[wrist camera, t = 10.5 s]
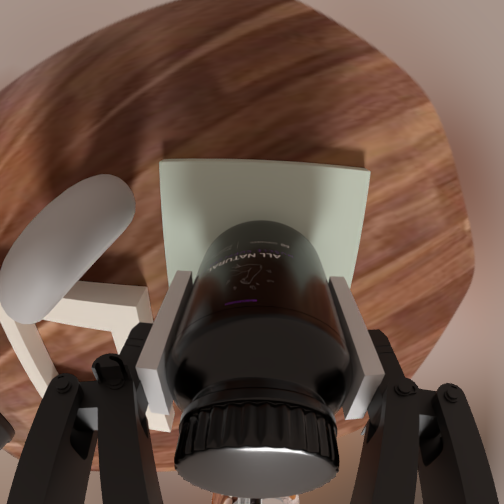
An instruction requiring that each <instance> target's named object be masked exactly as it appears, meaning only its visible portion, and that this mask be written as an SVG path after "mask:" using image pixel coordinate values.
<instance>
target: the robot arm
mask: <svg viewBox="0 0 504 504" xmlns="http://www.w3.org/2000/svg"><path fill="white" fill-rule="evenodd" d="M328 284H329V287H330V290H331V293H332V296H333V299H334V303H335V306H336V309H337V312H338V315H339V318H340V322H341V325H342V328H343V332H344V335H345V338H346V342H347V345H348V349H349V352H350V356H351V361H352V367H353V378H352V384H351V388H350V391H349V394H348V396H347V398H346V400H345V402H344V404H343V405H342V407H343V412H344V417H345V420H348V419H358V418H363V417H364V415H365V413H366V411H368V414H369V418H370V419H369V420H368V422H367V424H366V425H365V427H364V429H363V431H362V433H361V435H364V433H365V436H364V442H363V448H362V453H361V458H360V464H359V468H358V472H357V477H356V482H355V486H354V490H353V494H352V498H351V502H350V504H414V499H415V490H416V481H417V470H418V472H419V478H420V484H421V490H422V498H423V504H499V502H498V498H497V493H496V489H495V485H494V481H493V477H492V473H491V470H490V466H489V463H488V460H487V456H486V453H485V449H484V446H483V443H482V440H481V437H480V434H479V431H478V428H477V426H476V423H475V420H474V417H473V415H472V412H471V409H470V407H469V404H468V402H467V399H466V397H465V394H464V392H463V391H462V389H460V388H459V387H458V386H457V385H454V384H450V383H446V384H443V385H441V386H440V387H439V388H438V390H437V391H431V390H423V389H419V388H418V386H417V385H416V384H415V382H413V381H412V380H411V379H408V378H405V376H404V374H403V371H402V369H401V367H400V364H399V362H398V360H397V358H396V355H395V353H394V351H393V349H392V347H391V345H390V342H389V340H388V338H387V336H386V335H385V334H384V333H382V332H381V331H380V330H379V329H377V330H367V328H366V325H365V323H364V321H363V318H362V316H361V314H360V311H359V309H358V307H357V304H356V302H355V300H354V298H353V295H352V293H351V291H350V289H349V286H348V284H347V282H346V280H345V278H344V277H335V276H330V278H329V283H328ZM192 286H193V279H192V271H180V270H177V272H176V274H175V276H174V278H173V280H172V283H171V285H170V287H169V289H168V291H167V294H166V296H165V298H164V300H163V303H162V305H161V307H160V309H159V312H158V314H157V316H156V319H155V321H154V323H144V322H139V323H138V324H137V325H136V326H135V327H133V328H132V329H131V331H130V333H129V335H128V339H127V340H126V342H125V344H124V346H123V348H122V350H121V352H120V354H119V355H118V354H111V353H109V354H105V355H102V356H100V357H99V358H97V359H96V360H95V361H94V362H93V365H92V371H93V373H94V375H95V378H96V380H97V381H88V382H79V381H78V379H77V378H76V377H75V376H74V375H72V374H69V373H63V374H60V375H57V376H56V377H54V378H53V379H52V380H51V382H50V383H49V385H48V387H47V389H46V392H45V394H44V396H43V399H42V401H41V403H40V406H39V408H38V411H37V413H36V416H35V418H34V421H33V423H32V426H31V429H30V431H29V434H28V437H27V439H26V442H25V445H24V448H23V451H22V454H21V457H20V460H19V463H18V466H17V469H16V472H15V476H14V479H13V482H12V486H11V490H10V493H9V497H8V501H7V504H84V501H85V495H86V490H87V485H88V480H89V475H90V470H91V465H92V460H93V456H94V452H95V447H96V443H97V439H98V451H99V468H100V480H101V491H102V499H103V504H163V500H162V496H161V491H160V486H159V482H158V477H157V472H156V467H155V462H154V456H153V450H152V444H151V438H150V432H149V425H148V419H147V417H146V411H147V407H148V406H149V409H150V411H151V413H158V414H164V415H170V411H171V406H172V402H173V398H172V396H171V393H170V391H169V388H168V384H167V379H166V365H167V360H168V356H169V352H170V348H171V345H172V343H173V340H174V337H175V334H176V331H177V328H178V325H179V322H180V320H181V317H182V314H183V311H184V308H185V305H186V303H187V300H188V297H189V294H190V292H191V289H192ZM14 434H15V432H14V430H13V428H12V427H11V425H10V424H9V423H8V422H7V421H6V420H5V419H4V418H3V416H2V415H1V414H0V450H1V449H2V448H3V447H4V446H5V445H6V443H9V442H11V440H12V438H13V436H14Z"/></svg>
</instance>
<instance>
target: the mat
mask: <svg viewBox="0 0 504 504" xmlns="http://www.w3.org/2000/svg"><path fill="white" fill-rule="evenodd" d="M159 171H160V191H161V208H162V222H163V234H164V245H165V256H166V265H167V275H168V283H169V287H170V285H171V283H172V280H173V278H174V276H175V274H176V272H177V270H180V271H192V279H193V283H194V281H195V278H196V275H197V273H198V270H199V267H200V265H201V262H202V260H203V258H204V255H205V253H206V251H207V250H208V248H209V246H210V245H211V244H212V242H213V241H214V240H215V239H216V238H217V237H218V236H219V235H220V234H221V233H223V232H224V231H226V230H227V229H229V228H231V227H233V226H235V225H238V224H240V223H244V222H248V221H254V220H268V221H275V222H279V223H282V224H285V225H287V226H290V227H292V228H294V229H295V230H297V231H298V232H300V233H301V234H303V235H304V236H305V237H306V238H307V239H308V240H309V241H310V243H311V244H312V245H313V247H314V248H315V250H316V252H317V254H318V256H319V258H320V261H321V264H322V266H323V269H324V272H325V275H326V278H327V281H328V283H329V278H330V276H335V277H344V278H345V280H346V282H347V284H348V286H349V289H350V286H351V282H352V277H353V273H354V268H355V263H356V258H357V253H358V248H359V242H360V237H361V231H362V226H363V220H364V214H365V207H366V201H367V194H368V187H369V180H370V172H371V171H369V170H367V169H366V168H359V167H350V166H340V165H330V164H319V163H306V162H292V161H275V160H253V159H163V160H162V161H160V162H159Z"/></svg>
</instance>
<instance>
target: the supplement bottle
mask: <svg viewBox="0 0 504 504" xmlns="http://www.w3.org/2000/svg"><path fill="white" fill-rule="evenodd" d="M352 378H353V367H352V361H351V356H350V352H349V349H348V345H347V342H346V338H345V335H344V332H343V328H342V325H341V322H340V318H339V315H338V312H337V309H336V306H335V303H334V299H333V296H332V293H331V290H330V287H329V284H328V281H327V278H326V275H325V272H324V269H323V266H322V264H321V261H320V258H319V256H318V254H317V252H316V250H315V248H314V247H313V245H312V244H311V243H310V241H309V240H308V239H307V238H306V237H305V236H304V235H303V234H301V233H300V232H298V231H297V230H295V229H294V228H292V227H290V226H287V225H285V224H282V223H279V222H275V221H268V220H254V221H248V222H244V223H240V224H238V225H235V226H233V227H231V228H229V229H227V230H226V231H224V232H223V233H221V234H220V235H219V236H218V237H217V238H216V239H215V240H214V241H213V242H212V244H211V245H210V246H209V248H208V250H207V251H206V253H205V255H204V258H203V260H202V262H201V265H200V267H199V270H198V273H197V275H196V278H195V281H194V283H193V286H192V289H191V292H190V294H189V297H188V300H187V303H186V305H185V308H184V311H183V314H182V317H181V320H180V322H179V325H178V328H177V331H176V334H175V337H174V340H173V343H172V345H171V348H170V352H169V356H168V360H167V365H166V379H167V384H168V388H169V391H170V393H171V396H172V398H173V400H174V402H175V403H176V405H177V406H178V408H179V409H180V410H181V412H182V416H181V420H180V424H179V438H178V443H177V447H176V452H175V457H174V463H175V470H177V471H178V475H180V476H181V477H183V479H184V480H186V481H188V482H190V483H191V484H192V485H194V486H197V487H199V488H201V489H204V490H207V491H210V492H212V493H217V494H221V495H225V496H232V497H238V498H250V499H255V498H258V499H267V498H280V497H289V496H293V495H298V494H302V493H305V492H308V491H312V490H314V489H316V488H319V487H322V486H323V485H324V484H326V483H328V482H330V480H331V479H333V478H334V477H336V473H338V472H339V454H338V447H337V440H336V437H337V425H336V420H335V417H334V415H335V414H336V413H337V412H338V411H339V409H340V408H341V407H342V405H343V404H344V402H345V400H346V398H347V396H348V394H349V391H350V388H351V384H352Z"/></svg>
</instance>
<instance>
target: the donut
mask: <svg viewBox="0 0 504 504" xmlns="http://www.w3.org/2000/svg"><path fill="white" fill-rule="evenodd" d="M134 213H135V199H134V195H133V193H132V191H131V189H130V188H129V186H128V185H127V184H126V183H125V182H124V181H123V180H121V179H120V178H119V177H116V176H113V175H111V174H100V175H96V176H93V177H89V178H87V179H84V180H82V181H80V182H78V183H77V184H75V185H73V186H72V187H70V188H68V189H67V190H65V191H64V192H63V193H62V194H60V195H59V196H58V197H57V198H55V199H54V200H53V201H52V202H50V203H49V204H48V205H47V206H46V207H45V208H44V209H43V210H42V211H41V212H40V213H39V214H38V215H37V216H36V217H35V218H34V219H33V220H32V221H31V222H30V223H29V224H28V226H27V227H26V228H25V229H24V231H23V232H22V233H21V234H20V236H19V237H18V238H17V240H16V241H15V242H14V244H13V245H12V247H11V249H10V250H9V252H8V254H7V256H6V257H5V259H4V262H3V264H2V267H1V270H0V303H1V306H2V308H3V309H4V311H5V312H6V314H7V315H8V316H9V317H10V318H12V319H13V320H14V321H16V322H19V323H21V324H34V323H36V322H39V321H41V320H42V319H43V318H44V317H45V316H46V315H47V314H49V312H50V311H51V310H52V309H53V308H54V307H55V306H56V305H57V304H58V302H59V301H60V300H61V299H62V298H63V297H64V296H65V295H66V293H67V292H68V291H69V290H70V289H71V288H72V287H73V286H74V284H75V283H76V282H77V281H78V280H79V279H80V278H81V277H82V276H83V274H84V273H85V272H86V271H87V270H88V269H89V268H90V267H91V266H92V265H93V264H94V263H95V261H96V260H97V259H98V258H99V257H100V256H101V255H102V254H103V253H104V252H105V251H106V250H107V249H108V248H109V246H110V245H111V244H112V243H113V242H114V241H115V240H116V239H117V238H118V237H119V236H120V235H121V234H122V233H123V232H124V230H125V229H126V228H127V227H128V225H129V224H130V223H131V221H132V219H133V216H134Z"/></svg>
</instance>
